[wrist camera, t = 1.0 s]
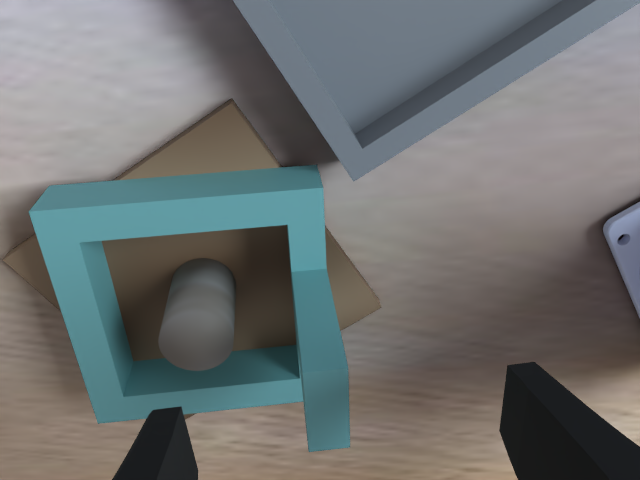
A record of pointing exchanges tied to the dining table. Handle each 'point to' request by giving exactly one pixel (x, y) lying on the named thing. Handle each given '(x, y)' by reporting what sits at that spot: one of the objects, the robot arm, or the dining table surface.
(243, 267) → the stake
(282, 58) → the tray
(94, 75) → the dining table surface
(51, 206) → the collar
